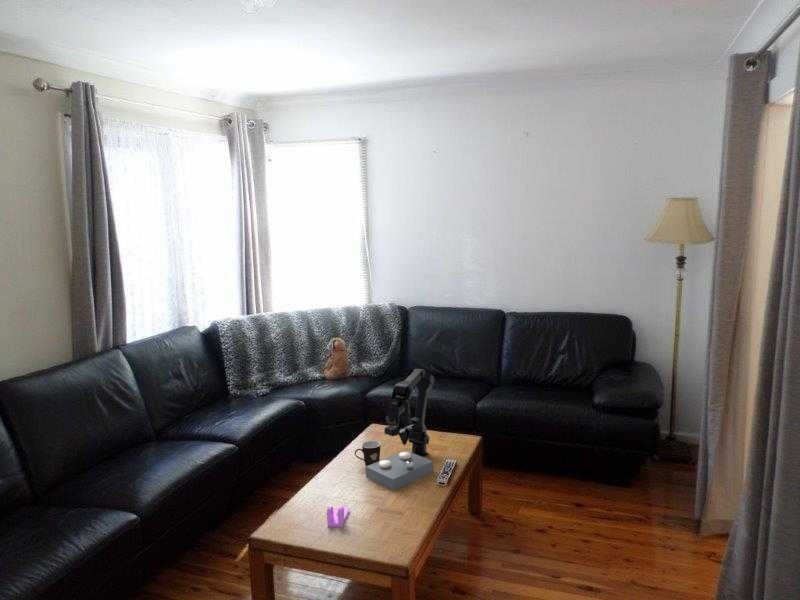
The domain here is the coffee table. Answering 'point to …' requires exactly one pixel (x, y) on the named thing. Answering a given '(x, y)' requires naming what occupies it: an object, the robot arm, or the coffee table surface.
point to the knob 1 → (384, 464)
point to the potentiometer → (409, 465)
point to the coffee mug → (370, 452)
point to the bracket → (337, 516)
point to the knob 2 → (404, 455)
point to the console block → (399, 471)
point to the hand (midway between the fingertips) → (404, 444)
